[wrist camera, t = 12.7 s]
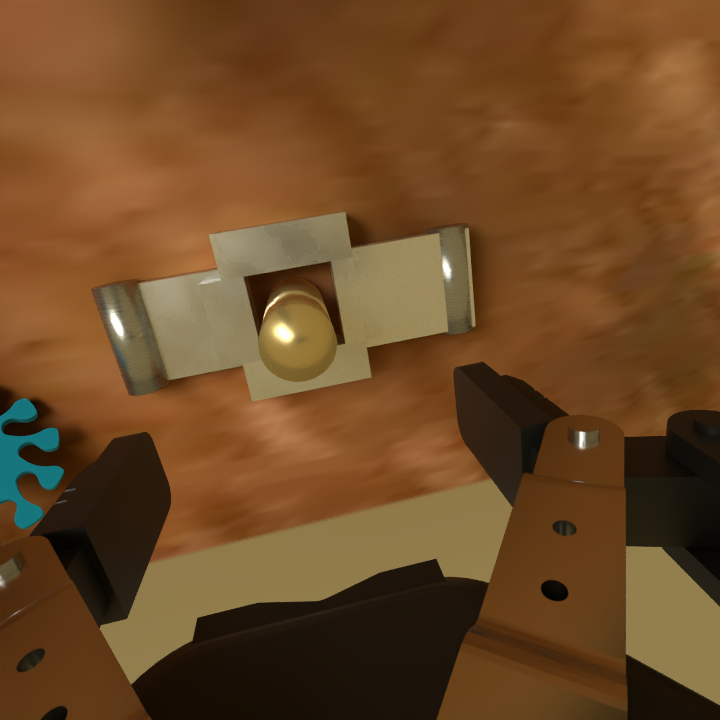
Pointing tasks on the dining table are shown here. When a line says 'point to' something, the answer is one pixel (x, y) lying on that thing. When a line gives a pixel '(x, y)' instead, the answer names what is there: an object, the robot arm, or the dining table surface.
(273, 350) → the pin
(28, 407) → the gear
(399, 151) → the dining table surface
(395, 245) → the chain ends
